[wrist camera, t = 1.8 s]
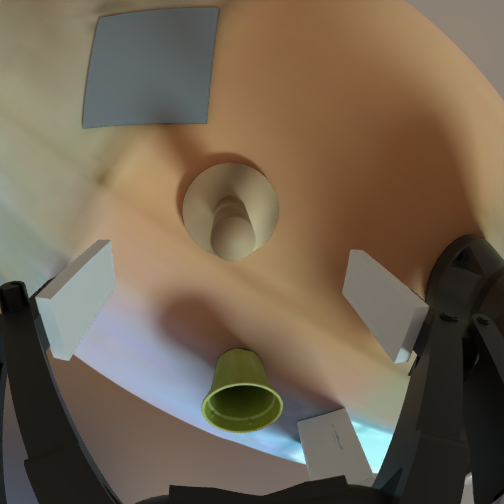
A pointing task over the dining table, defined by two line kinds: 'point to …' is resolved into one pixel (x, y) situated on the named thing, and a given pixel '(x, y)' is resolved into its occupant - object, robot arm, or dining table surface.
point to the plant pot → (241, 394)
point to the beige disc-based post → (230, 210)
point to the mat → (151, 68)
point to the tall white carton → (334, 449)
